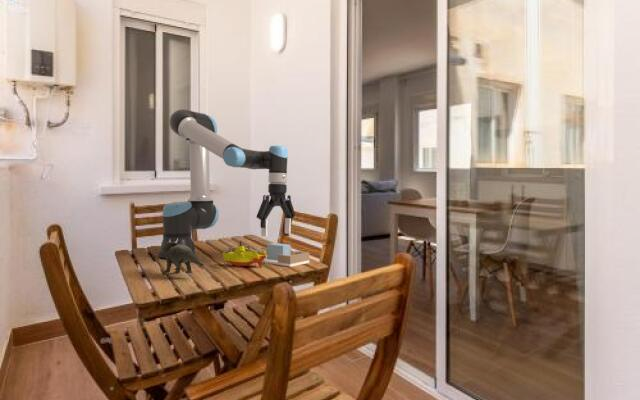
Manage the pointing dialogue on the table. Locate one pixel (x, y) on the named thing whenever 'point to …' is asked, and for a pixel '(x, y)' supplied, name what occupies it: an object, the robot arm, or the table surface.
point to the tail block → (277, 250)
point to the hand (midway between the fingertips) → (276, 234)
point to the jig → (282, 257)
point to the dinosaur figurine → (179, 256)
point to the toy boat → (244, 256)
